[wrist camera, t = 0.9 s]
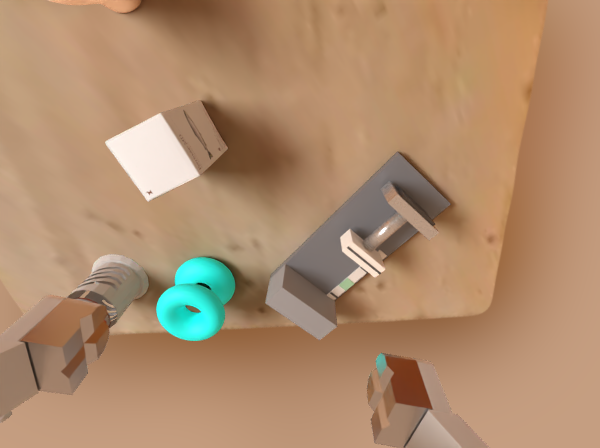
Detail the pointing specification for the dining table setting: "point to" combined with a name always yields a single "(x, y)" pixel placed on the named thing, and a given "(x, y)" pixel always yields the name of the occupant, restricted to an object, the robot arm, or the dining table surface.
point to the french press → (111, 287)
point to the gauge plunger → (400, 217)
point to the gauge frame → (328, 251)
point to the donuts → (196, 299)
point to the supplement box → (168, 149)
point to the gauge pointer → (361, 253)
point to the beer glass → (105, 4)
